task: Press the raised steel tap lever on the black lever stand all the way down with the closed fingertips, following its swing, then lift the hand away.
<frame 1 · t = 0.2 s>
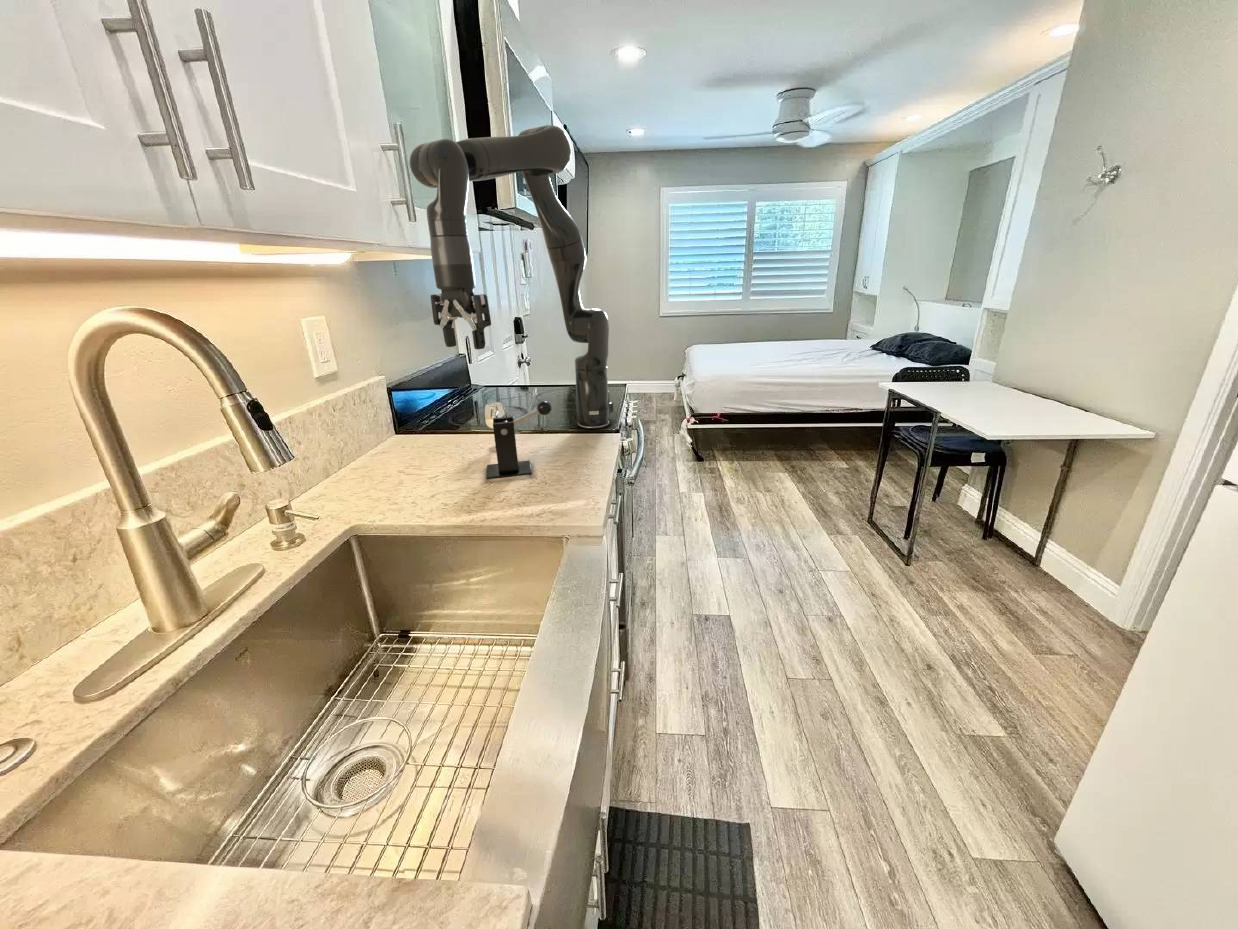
hand: (465, 347, 101), 29 cm above the worktop, tool pointing down, fingers open, 8 cm apart
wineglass: (499, 449, 129), on the worktop
tap lever: (524, 417, 110), point 13 cm above the worktop, hinge at 22.0°
black lever stand: (509, 473, 114), on the worktop
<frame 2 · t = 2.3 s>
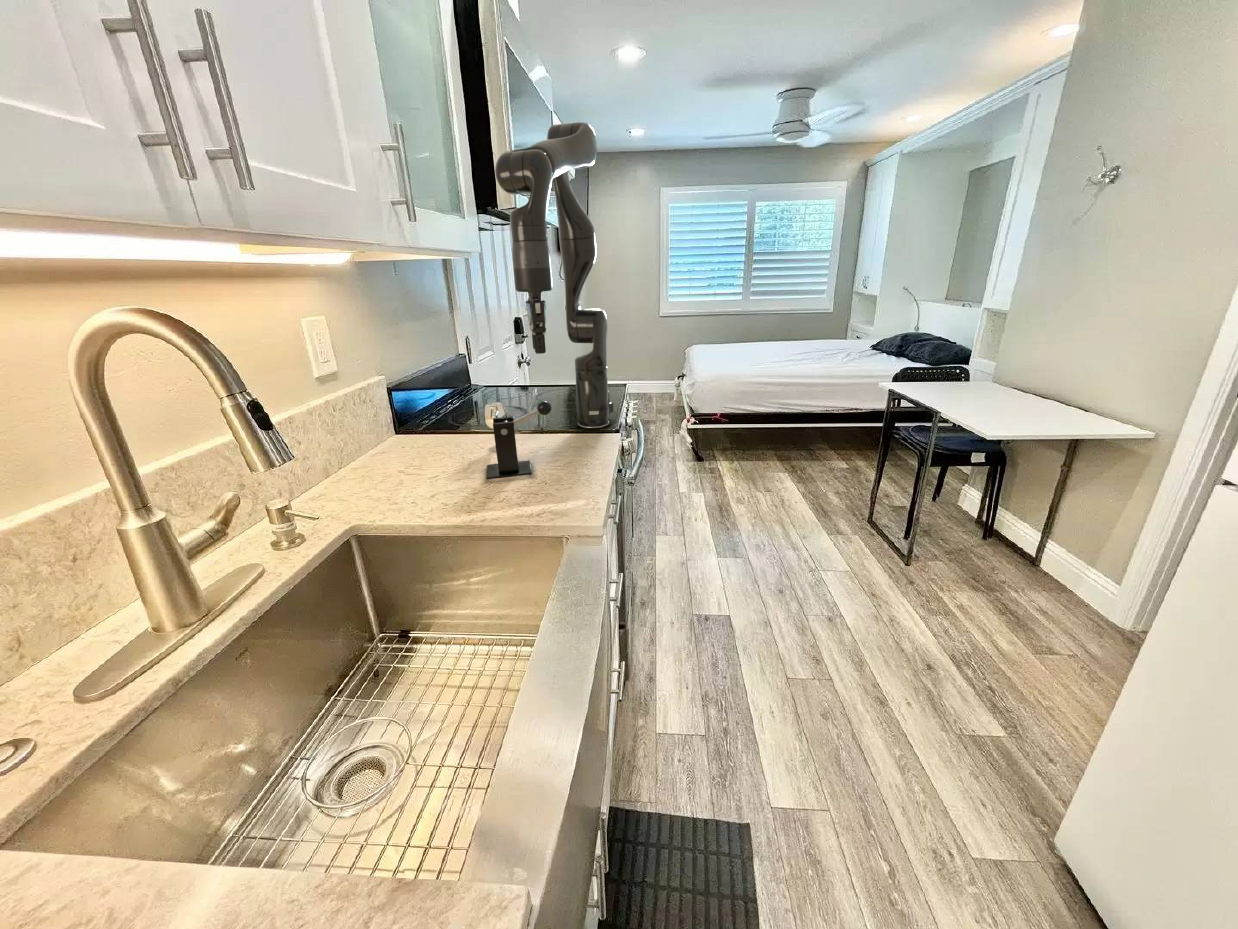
hand: (539, 350, 105), 27 cm above the worktop, tool pointing down, fingers open, 5 cm apart
nothing on the worktop moved.
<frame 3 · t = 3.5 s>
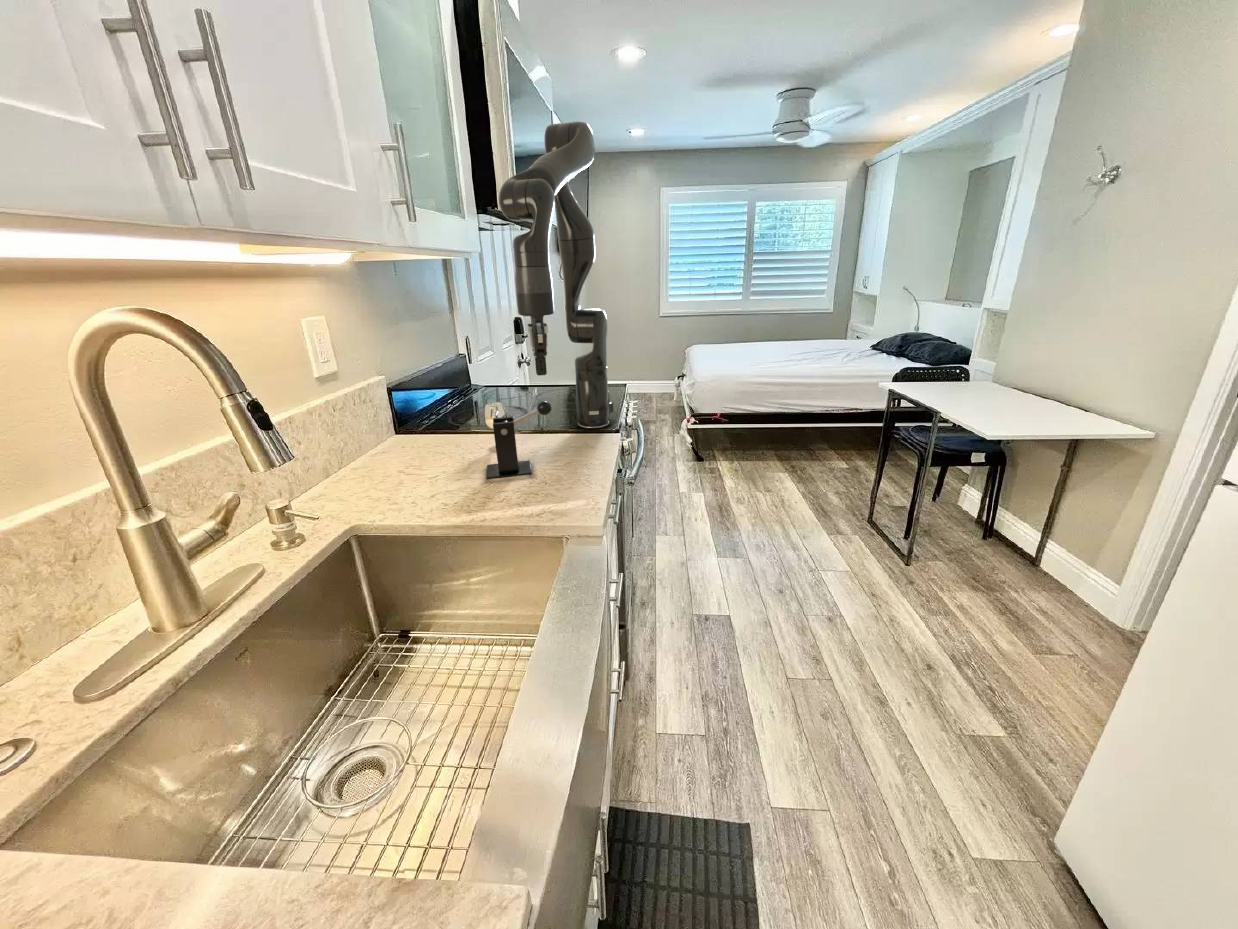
hand: (541, 374, 107), 22 cm above the worktop, tool pointing down, fingers closed
nothing on the worktop moved.
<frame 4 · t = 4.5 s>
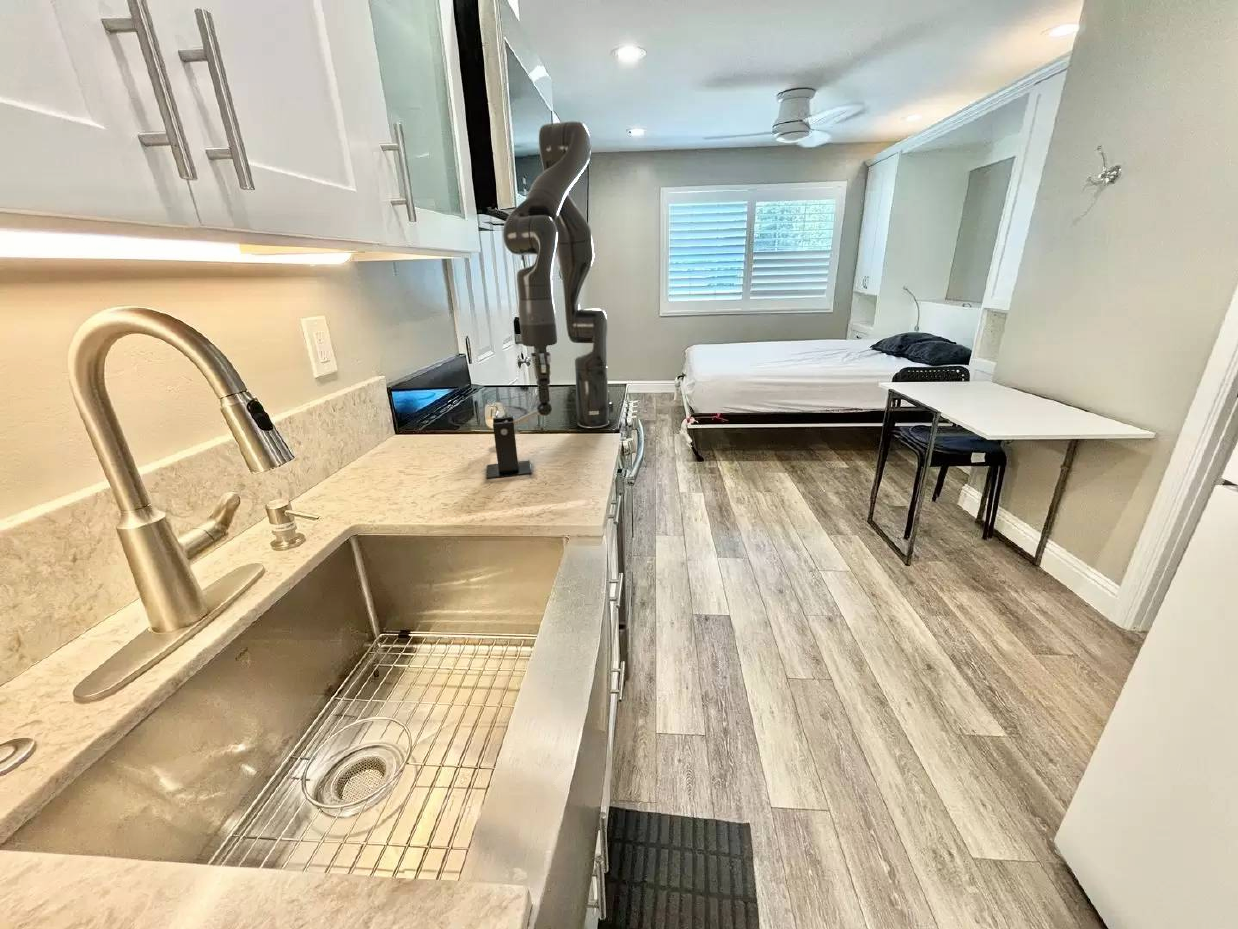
hand: (544, 401, 109), 16 cm above the worktop, tool pointing down, fingers closed
tap lever: (524, 418, 110), point 13 cm above the worktop, hinge at 21.2°, touching gripper
everything else where it was.
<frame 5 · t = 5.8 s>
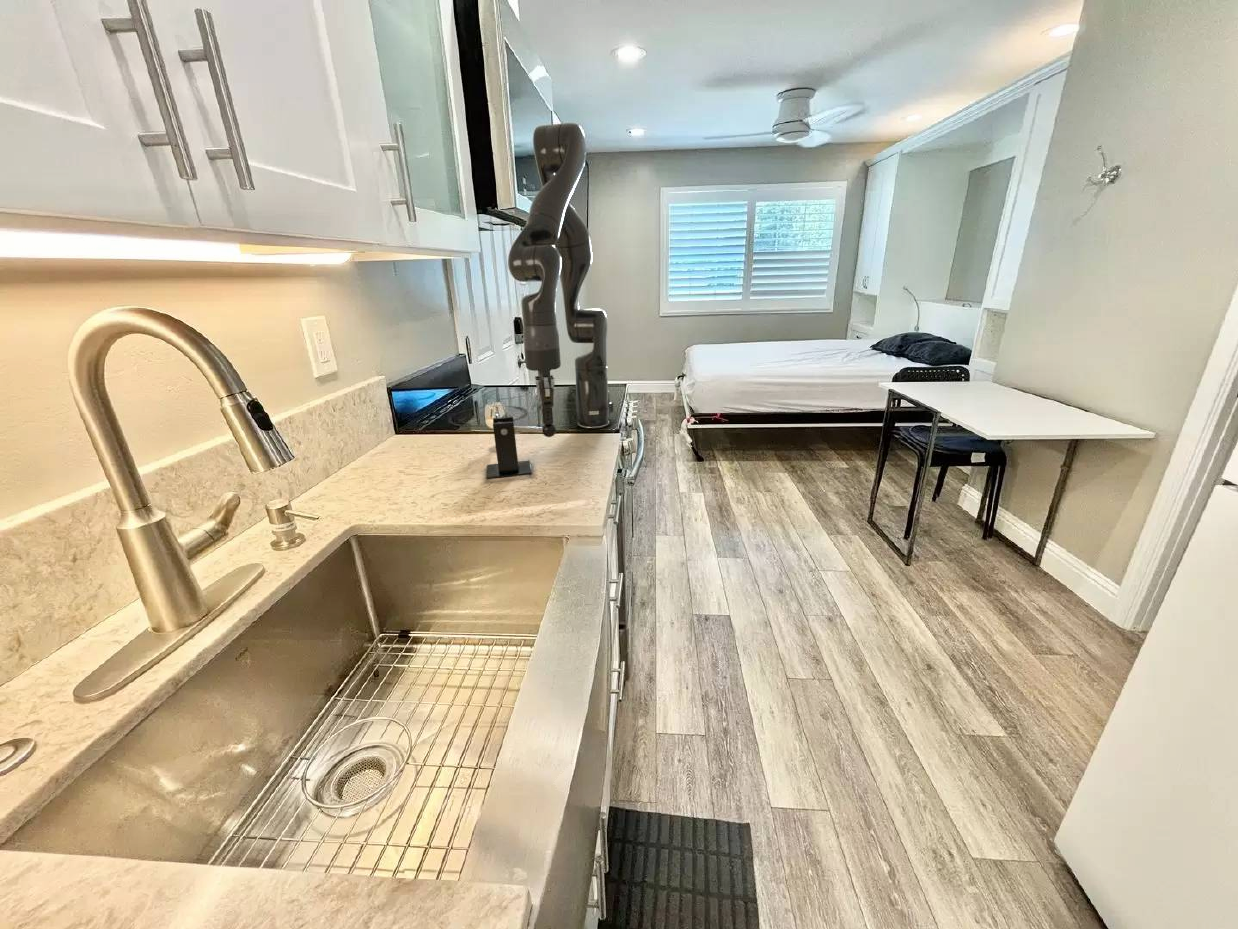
hand: (548, 423, 111), 11 cm above the worktop, tool pointing down, fingers closed
tap lever: (527, 429, 111), point 10 cm above the worktop, hinge at -8.5°
everything else where it was.
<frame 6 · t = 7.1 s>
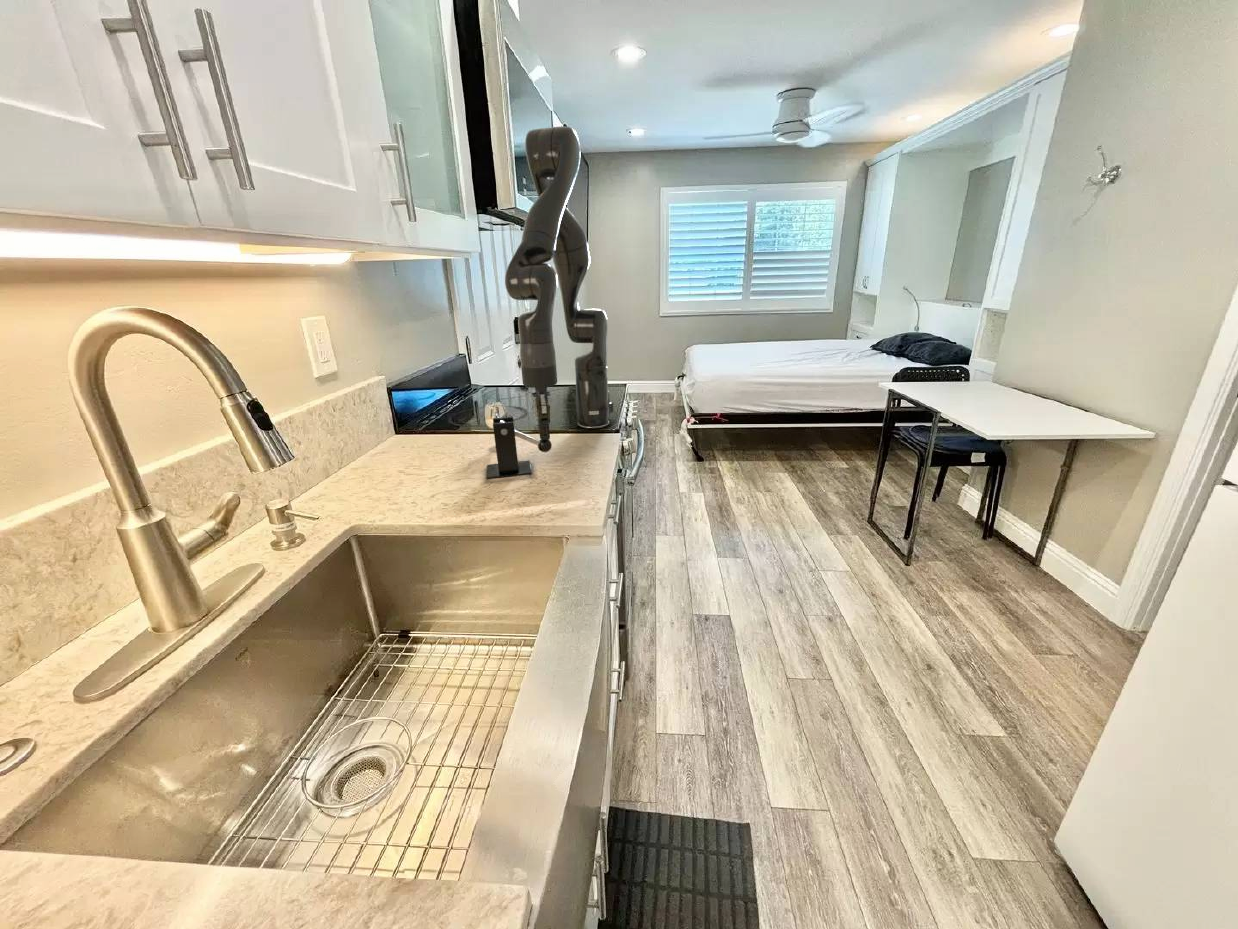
hand: (545, 438, 112), 8 cm above the worktop, tool pointing down, fingers closed
tap lever: (525, 437, 111), point 8 cm above the worktop, hinge at -30.3°, touching gripper
everything else where it was.
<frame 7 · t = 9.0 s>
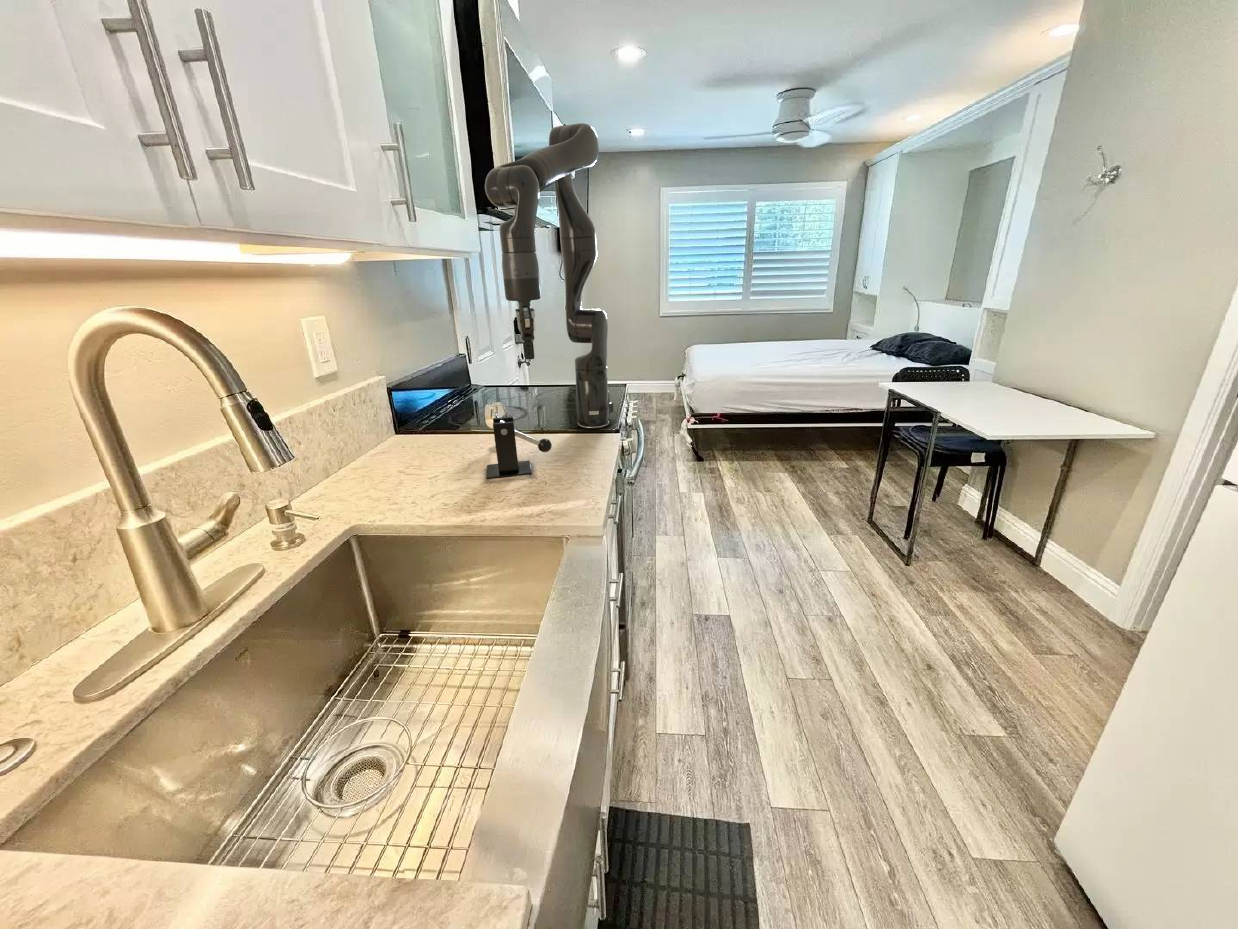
hand: (529, 358, 110), 25 cm above the worktop, tool pointing down, fingers closed
tap lever: (525, 437, 111), point 8 cm above the worktop, hinge at -30.3°
everything else where it was.
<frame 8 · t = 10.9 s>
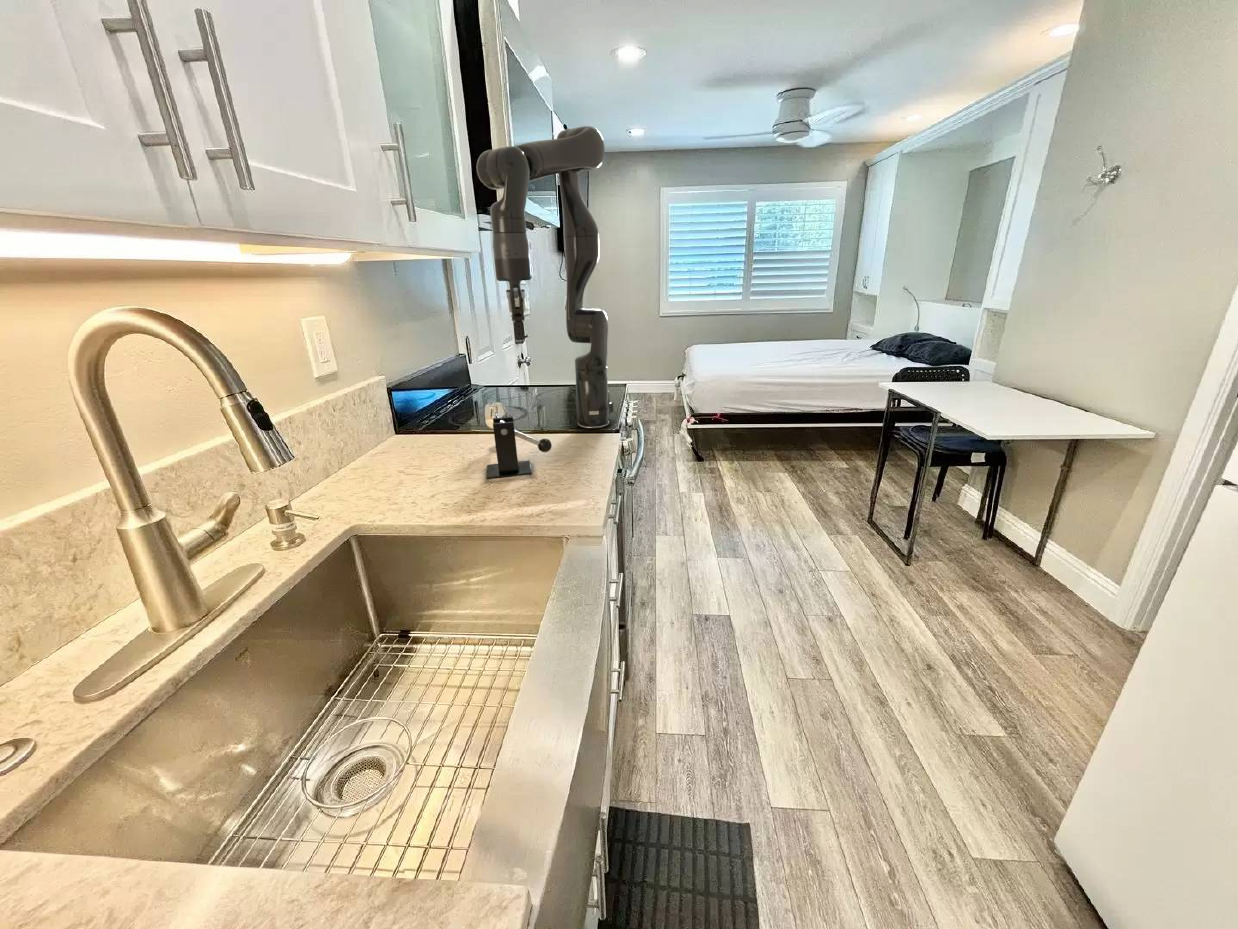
hand: (520, 339, 111), 29 cm above the worktop, tool pointing down, fingers closed
nothing on the worktop moved.
at the end: tap lever reached -30° during the clip, -30° at the end; tap lever at -30° (first picture: +22°) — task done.
